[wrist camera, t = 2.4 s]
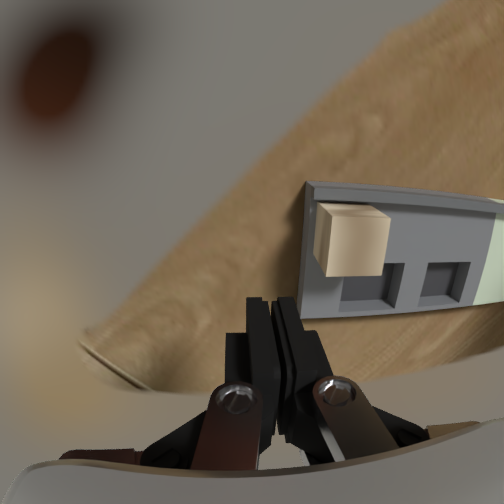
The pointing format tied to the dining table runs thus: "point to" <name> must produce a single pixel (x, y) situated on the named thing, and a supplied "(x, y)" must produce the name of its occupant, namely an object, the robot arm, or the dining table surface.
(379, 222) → the ash cube
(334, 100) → the dining table surface
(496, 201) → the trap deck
